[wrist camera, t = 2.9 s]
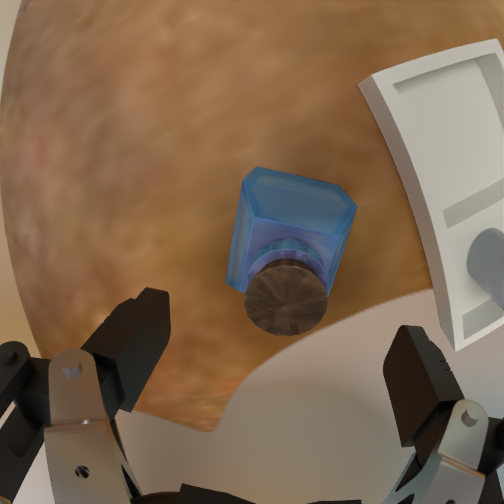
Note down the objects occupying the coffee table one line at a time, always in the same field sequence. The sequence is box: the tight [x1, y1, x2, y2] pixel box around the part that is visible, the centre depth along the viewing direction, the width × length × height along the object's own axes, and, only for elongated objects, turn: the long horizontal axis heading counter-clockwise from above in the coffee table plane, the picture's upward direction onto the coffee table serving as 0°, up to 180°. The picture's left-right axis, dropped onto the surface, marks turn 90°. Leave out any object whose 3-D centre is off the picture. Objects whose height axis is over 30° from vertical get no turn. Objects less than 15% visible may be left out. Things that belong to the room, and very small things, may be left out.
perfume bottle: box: [225, 167, 357, 336], centre depth 16 cm, size 6×6×12 cm
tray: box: [357, 38, 504, 352], centre depth 17 cm, size 23×12×4 cm, turn 29°
